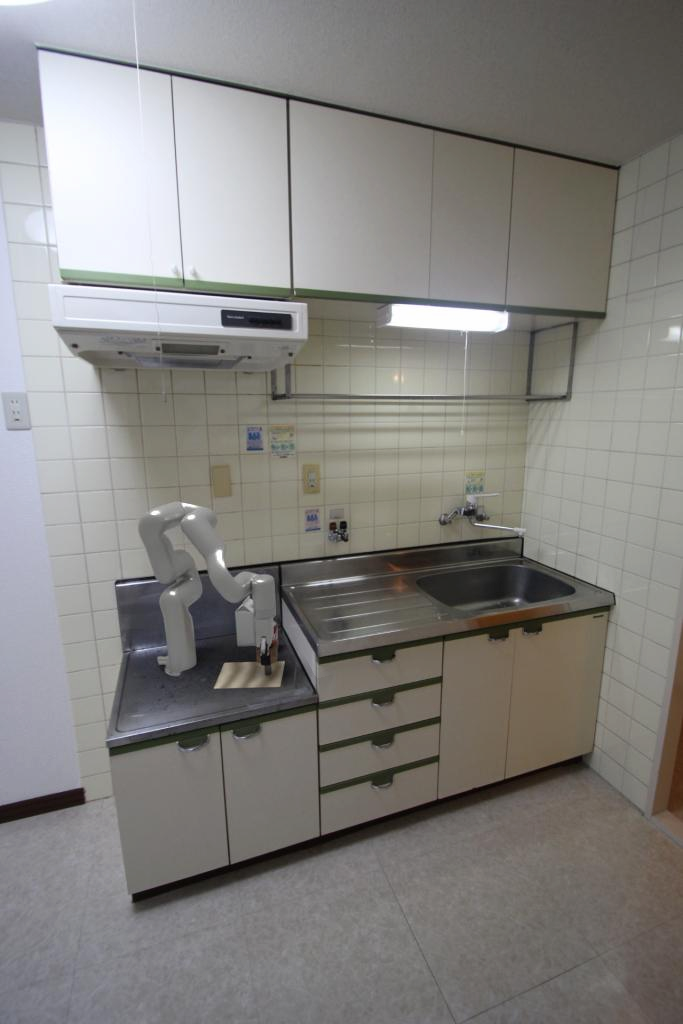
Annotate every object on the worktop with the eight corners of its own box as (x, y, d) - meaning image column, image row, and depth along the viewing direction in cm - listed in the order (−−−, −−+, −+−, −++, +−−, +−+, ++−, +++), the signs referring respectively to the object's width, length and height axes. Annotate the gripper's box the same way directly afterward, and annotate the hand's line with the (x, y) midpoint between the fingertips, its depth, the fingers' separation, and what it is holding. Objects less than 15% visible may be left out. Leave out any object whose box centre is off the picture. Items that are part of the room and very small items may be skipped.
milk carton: (237, 647, 184) (234, 602, 180) (244, 638, 191) (241, 594, 187) (254, 648, 183) (251, 603, 179) (260, 639, 190) (258, 595, 185)
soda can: (280, 648, 182) (279, 620, 180) (276, 658, 175) (274, 628, 173) (262, 647, 183) (260, 619, 180) (257, 657, 176) (255, 628, 173)
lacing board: (213, 692, 154) (211, 668, 152) (224, 666, 170) (222, 643, 168) (280, 690, 155) (279, 666, 153) (285, 664, 170) (284, 642, 168)
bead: (255, 664, 158) (255, 651, 156) (258, 654, 164) (258, 641, 163) (276, 664, 158) (275, 650, 157) (278, 653, 164) (277, 640, 163)
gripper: (257, 601, 165) (260, 647, 169) (249, 623, 149) (252, 673, 152) (278, 600, 166) (280, 646, 170) (272, 622, 149) (275, 672, 153)
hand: (267, 658), depth 161 cm, fingers closed on bead, 6 cm apart
